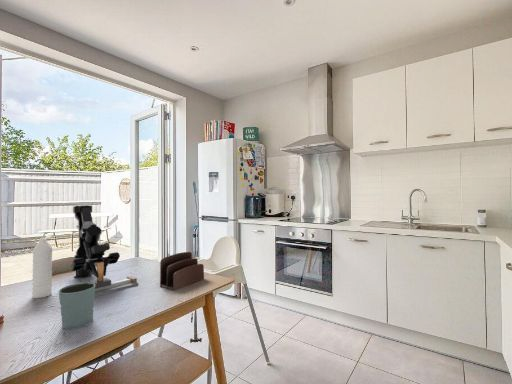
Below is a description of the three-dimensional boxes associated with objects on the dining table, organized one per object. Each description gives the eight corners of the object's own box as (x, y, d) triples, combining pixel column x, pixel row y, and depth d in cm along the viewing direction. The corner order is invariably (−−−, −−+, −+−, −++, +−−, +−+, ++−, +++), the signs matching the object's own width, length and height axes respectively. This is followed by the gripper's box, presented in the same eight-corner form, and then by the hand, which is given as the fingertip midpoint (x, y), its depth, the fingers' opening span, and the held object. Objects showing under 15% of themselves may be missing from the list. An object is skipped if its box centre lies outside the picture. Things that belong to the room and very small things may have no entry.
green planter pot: (101, 315, 92) (101, 282, 92) (83, 330, 82) (83, 292, 82) (72, 316, 92) (72, 282, 92) (50, 331, 82) (50, 293, 82)
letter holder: (159, 286, 123) (159, 257, 123) (190, 276, 139) (190, 249, 140) (173, 290, 117) (173, 259, 118) (204, 279, 134) (204, 251, 134)
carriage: (106, 282, 121) (106, 260, 121) (111, 284, 117) (111, 262, 117) (89, 286, 115) (89, 263, 116) (93, 289, 112) (94, 265, 112)
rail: (129, 281, 130) (129, 275, 131) (138, 285, 125) (138, 278, 125) (68, 296, 111) (68, 289, 111) (74, 301, 105) (74, 294, 105)
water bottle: (46, 297, 109) (47, 238, 110) (28, 299, 108) (29, 239, 108) (57, 290, 118) (58, 235, 118) (41, 291, 116) (41, 236, 117)
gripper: (73, 240, 112) (81, 270, 105) (118, 235, 126) (128, 261, 119) (67, 256, 117) (75, 285, 109) (111, 249, 131) (121, 275, 124)
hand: (101, 276), depth 115 cm, fingers closed on carriage, 3 cm apart
